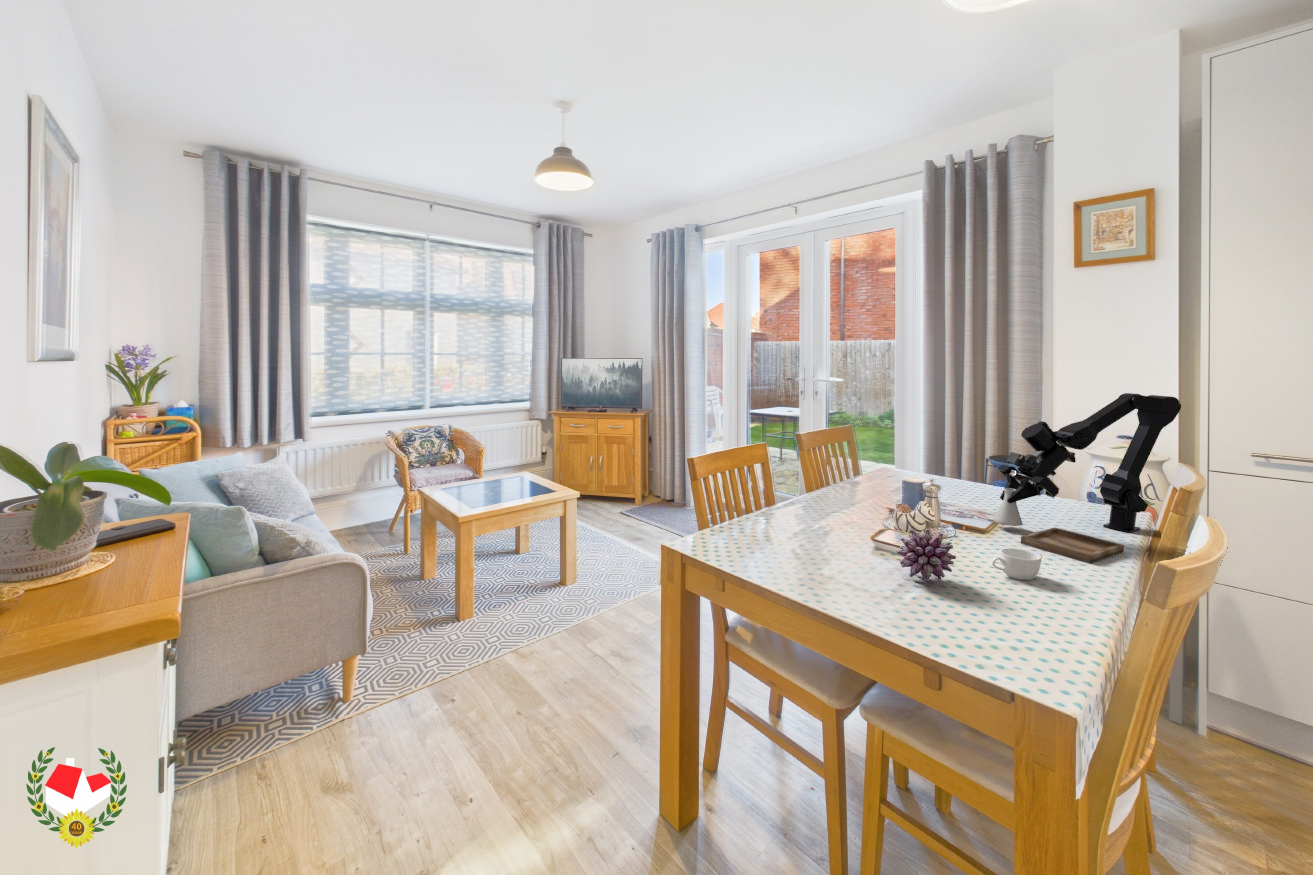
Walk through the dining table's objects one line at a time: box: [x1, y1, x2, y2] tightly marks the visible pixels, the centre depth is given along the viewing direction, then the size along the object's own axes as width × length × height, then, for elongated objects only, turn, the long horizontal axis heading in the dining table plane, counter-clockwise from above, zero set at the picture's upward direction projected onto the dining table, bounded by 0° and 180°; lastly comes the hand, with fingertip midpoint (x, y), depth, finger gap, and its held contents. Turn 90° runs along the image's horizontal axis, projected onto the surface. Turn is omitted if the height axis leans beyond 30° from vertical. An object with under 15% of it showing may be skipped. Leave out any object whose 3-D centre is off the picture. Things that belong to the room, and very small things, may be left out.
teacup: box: [991, 547, 1043, 581], centre depth 123 cm, size 10×8×5 cm
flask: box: [992, 487, 1024, 527], centre depth 156 cm, size 7×7×10 cm
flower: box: [896, 527, 957, 583], centre depth 121 cm, size 12×12×12 cm
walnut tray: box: [1020, 527, 1125, 564], centre depth 141 cm, size 16×16×2 cm
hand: (1004, 500), depth 155 cm, fingers closed on flask, 3 cm apart
